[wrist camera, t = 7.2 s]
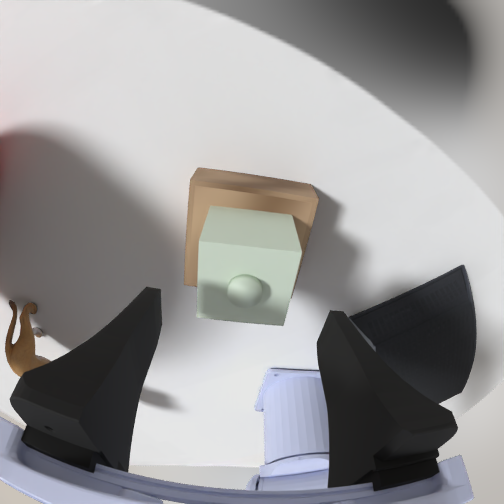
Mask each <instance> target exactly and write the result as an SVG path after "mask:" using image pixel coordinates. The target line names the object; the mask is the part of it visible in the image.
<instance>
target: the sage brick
mask: <svg viewBox="0 0 504 504" xmlns="http://www.w3.org/2000/svg"><path fill="white" fill-rule="evenodd" d="M301 255H302V250H301V246H300V242H299V239H298V235H297V231H296V228H295V224H294V220H293V217H292V215H289V214H281V213H273V212H265V211H256V210H248V209H239V208H230V207H220V206H210V208H209V211H208V214H207V217H206V220H205V223H204V226H203V230H202V233H201V236H200V239H199V250H198V279H197V318H205V319H214V320H223V321H233V322H243V323H254V324H265V325H278V326H283V325H284V322H285V318H286V314H287V310H288V307H289V303H290V299H291V295H292V291H293V287H294V283H295V279H296V275H297V271H298V267H299V263H300V259H301Z"/></svg>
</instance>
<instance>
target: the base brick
mask: <svg viewBox="0 0 504 504" xmlns="http://www.w3.org/2000/svg"><path fill="white" fill-rule="evenodd" d="M318 201H319V198H318V196H317V194H316V192H315V191H314V189H313V187H312V185H311V184H306V183H300V182H295V181H289V180H283V179H277V178H271V177H265V176H258V175H251V174H245V173H237V172H230V171H223V170H215V169H207V168H197V170H196V171H195V173H194V175H193V176H192V178H191V179H190V188H189V200H188V214H187V230H186V248H185V271H184V285H188V286H195V287H197V279H198V250H199V239H200V236H201V233H202V230H203V226H204V223H205V220H206V217H207V214H208V211H209V208H210V206H220V207H230V208H239V209H248V210H256V211H265V212H273V213H281V214H289V215H292V217H293V220H294V224H295V228H296V231H297V235H298V239H299V242H300V246H301V250H302V255H301V259H300V263H299V267H298V271H297V275H296V279H295V283H294V287H293V291H294V288H295V284H296V281H297V278H298V274H299V271H300V267H301V264H302V260H303V257H304V253H305V249H306V246H307V242H308V239H309V235H310V231H311V228H312V224H313V220H314V216H315V213H316V209H317V205H318ZM293 291H292V295H293ZM292 295H291V298H292Z"/></svg>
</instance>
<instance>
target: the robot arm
mask: <svg viewBox="0 0 504 504" xmlns="http://www.w3.org/2000/svg"><path fill="white" fill-rule="evenodd" d="M161 326H162V315H161V289H156V288H150V287H146V288H145V289H144V290H143V291H142V292H141V293H140V294H139V295H138V296H137V297H136V298H135V299H134V300H133V301H132V302H131V303H130V304H129V305H128V306H127V307H126V308H125V309H124V310H123V311H122V312H121V313H120V314H119V315H118V316H117V317H116V318H115V319H113V320H112V321H111V322H110V323H109V324H108V325H106V326H105V327H104V328H103V329H102V330H101V331H99V332H98V333H97V334H96V335H94V336H93V337H92V338H90V339H89V340H87V341H86V342H85V343H83V344H82V345H80V346H78V347H77V348H75V349H74V350H72V351H70V352H69V353H67V354H65V355H63V356H61V357H59V358H58V359H55V360H53V361H51V362H49V363H47V364H45V365H42V366H40V367H37V368H34V369H32V370H29V371H26V372H24V373H23V374H22V376H21V378H20V379H19V381H18V383H17V385H16V387H15V389H14V391H13V393H12V395H11V397H10V402H11V405H12V407H13V408H14V410H15V411H16V412H17V413H18V415H19V416H20V417H21V418H22V419H23V421H24V422H25V423H26V424H27V426H26V428H25V431H24V430H23V429H22V428H20V427H19V426H17V425H15V424H13V423H11V422H9V421H7V420H6V419H4V418H2V417H0V480H1V481H3V482H5V483H6V484H8V485H9V486H11V487H13V488H14V489H16V490H18V491H20V492H22V493H23V494H26V495H27V496H29V497H31V498H33V499H35V500H37V501H39V502H41V503H43V504H163V501H162V500H168V501H174V502H179V503H186V504H465V503H467V502H468V501H471V500H473V498H474V496H473V492H472V488H471V485H470V481H469V478H468V475H467V472H466V468H465V465H464V462H463V459H462V456H461V455H458V456H455V457H452V458H449V459H446V460H443V461H441V462H439V463H437V461H436V458H437V457H438V456H439V452H438V448H439V447H440V446H442V445H443V444H445V443H446V442H447V441H448V440H449V439H451V438H452V437H453V436H454V434H455V433H456V432H457V429H458V427H457V424H456V421H455V419H454V416H453V414H452V411H450V410H448V409H446V408H444V407H442V406H441V405H439V404H437V403H435V402H433V401H432V400H430V399H429V398H427V397H426V396H424V395H423V394H421V393H420V392H418V391H417V390H416V389H414V388H413V387H412V386H411V385H409V384H408V383H407V382H406V381H404V380H403V379H402V378H401V377H400V376H399V375H398V374H396V373H395V372H394V371H393V370H392V369H391V368H390V367H389V366H388V365H387V364H386V363H385V362H384V361H383V360H382V358H381V357H380V356H379V355H378V354H377V353H376V352H375V351H374V349H373V348H372V347H371V346H370V345H369V344H368V342H367V341H366V340H365V339H364V337H363V336H362V335H361V334H360V332H359V331H358V330H357V328H356V327H355V326H354V325H353V323H352V322H351V321H350V319H349V318H348V317H347V316H346V314H345V313H344V312H343V311H331V310H330V312H329V314H328V317H327V319H326V322H325V324H324V327H323V329H322V331H321V334H320V336H319V338H318V341H317V356H318V365H319V370H320V371H299V370H283V369H269V370H267V372H266V375H265V378H264V381H263V384H262V387H261V389H260V392H259V395H258V398H257V401H256V404H255V411H259V412H264V448H265V465H261V466H260V474H256V475H254V476H253V477H252V478H251V480H250V481H249V482H248V484H247V486H246V490H235V489H221V488H212V487H203V486H194V485H188V484H181V483H175V482H169V481H164V480H159V479H154V478H149V477H144V476H140V475H136V474H131V473H128V468H129V458H130V449H131V442H132V435H133V429H134V423H135V417H136V412H137V407H138V402H139V398H140V393H141V390H142V387H143V384H144V381H145V378H146V375H147V372H148V369H149V366H150V364H151V361H152V358H153V355H154V352H155V350H156V347H157V344H158V339H159V335H160V331H161ZM160 499H162V500H160Z"/></svg>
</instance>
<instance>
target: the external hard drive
mask: <svg viewBox="0 0 504 504" xmlns="http://www.w3.org/2000/svg"><path fill="white" fill-rule="evenodd" d="M349 319H350V321H351V322H352V323H353V325H354V326H355V327H356V328H357V330H358V331H359V332H360V334H361V335H362V336H363V337H364V339H365V340H366V341H367V342H368V344H369V345H370V346H371V347H372V348H373V349H374V351H375V352H376V353H377V354H378V355H379V356H380V357H381V358H382V360H383V361H384V362H385V363H386V364H387V365H388V366H389V367H390V368H391V369H392V370H393V371H394V372H395V373H396V374H398V375H399V376H400V377H401V378H402V379H403V380H404V381H406V382H407V383H408V384H409V385H411V386H412V387H413V388H414V389H416V390H417V391H418V392H420V393H421V394H423V395H424V396H426V397H427V398H429V399H430V400H432V401H433V402H435V403H437V404H439V403H441V402H443V401H445V400H447V399H449V398H451V397H453V396H455V395H457V394H459V393H461V392H462V391H463V389H464V387H465V385H466V383H467V380H468V378H469V375H470V372H471V369H472V365H473V361H474V356H475V350H476V316H475V308H474V302H473V296H472V292H471V287H470V283H469V279H468V276H467V272H466V269H465V266H464V265H461V266H459V267H457V268H455V269H453V270H451V271H449V272H447V273H445V274H443V275H441V276H439V277H437V278H435V279H433V280H431V281H429V282H427V283H425V284H423V285H421V286H419V287H416V288H414V289H412V290H410V291H408V292H406V293H404V294H401V295H399V296H397V297H395V298H393V299H391V300H388V301H386V302H384V303H382V304H379V305H377V306H375V307H372V308H370V309H368V310H365V311H363V312H361V313H358V314H356V315H354V316H351V317H349Z"/></svg>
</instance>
